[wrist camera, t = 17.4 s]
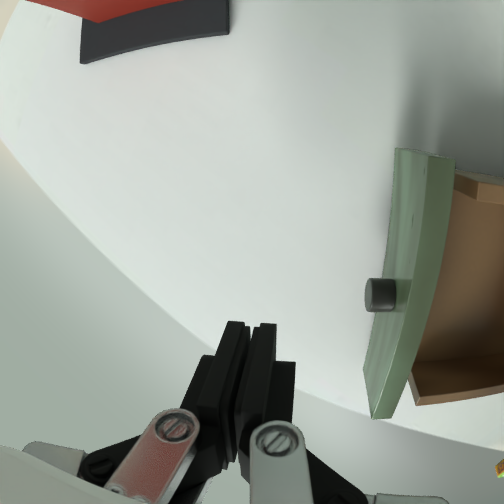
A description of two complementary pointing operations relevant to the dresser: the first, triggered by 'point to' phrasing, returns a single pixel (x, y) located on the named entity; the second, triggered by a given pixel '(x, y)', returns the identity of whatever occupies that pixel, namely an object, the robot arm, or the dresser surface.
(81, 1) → the book
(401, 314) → the drawer
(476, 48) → the dresser surface
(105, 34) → the pad
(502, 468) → the game box
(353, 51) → the dresser surface
